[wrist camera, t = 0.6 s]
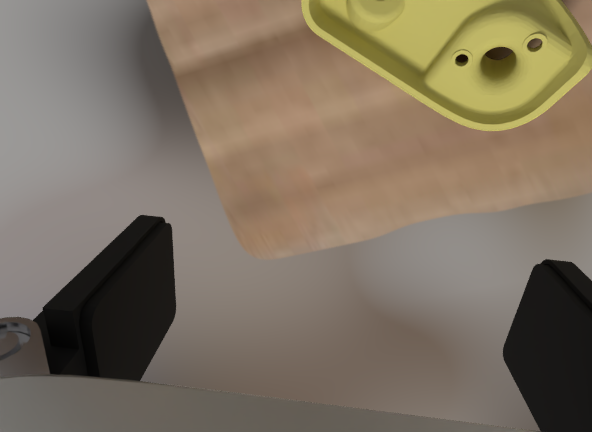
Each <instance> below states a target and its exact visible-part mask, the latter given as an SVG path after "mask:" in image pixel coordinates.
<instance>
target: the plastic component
mask: <svg viewBox="0 0 592 432" xmlns="http://www.w3.org/2000/svg"><path fill="white" fill-rule="evenodd" d="M301 1H302V12H303V16H304V18H305V20H306V23H307V24H308V26H309V27H310V29H311V30H312V31H313V32H314V33H316V34H317V35H318V36H320V37H321V38H323V39H324V40H326V41H328V42H329V43H331V44H332V45H334V46H335V47H337V48H338V49H340V50H342V51H343V52H345V53H346V54H348V55H349V56H351V57H352V58H354V59H355V60H357V61H359V62H360V63H362V64H363V65H365V66H366V67H368V68H369V69H371V70H372V71H374V72H376V73H377V74H379V75H380V76H382V77H383V78H385V79H386V80H388V81H390V82H391V83H393V84H394V85H396V86H397V87H399V88H400V89H402V90H403V91H405V92H407V93H408V94H410V95H411V96H413V97H414V98H416V99H417V100H419V101H421V102H422V103H424V104H425V105H427V106H428V107H430V108H432V109H433V110H435V111H437V112H438V113H440V114H442V115H443V116H445V117H447V118H449V119H451V120H453V121H455V122H457V123H459V124H461V125H464V126H467V127H470V128H473V129H478V130H484V131H500V130H506V129H511V128H515V127H518V126H520V125H523V124H526V123H527V122H529V121H531V120H533V119H535V118H536V117H538V116H539V115H541V114H542V113H544V112H545V111H546V110H547V109H549V108H550V107H551V106H552V105H553V104H554V103H556V102H557V101H558V100H559V99H560V98H561V97H562V96H563V95H565V94H566V93H567V92H568V91H569V90H570V89H571V88H572V87H573V86H575V85H576V84H577V83H578V82H579V81H580V80H581V79H582V78H584V77H585V76H586V75H587V74H588V72H589V71H590V70H591V68H592V45H591V44H590V42H589V40H588V38H587V36H586V35H585V33H584V31H583V30H582V28H581V26H580V25H579V24H578V22H577V21H576V19H575V18H574V16H573V15H572V14H571V12H570V11H569V10H568V8H567V7H566V6H565V4H564V3H563V2H562V1H561V0H301ZM534 38H538V39H541V40H542V43H541V44H540V45H539V46H538V47H536V48H530V47H528V46H527V44H528V42H529V41H530V40H532V39H534ZM495 47H507V48H509V49H511V50H513V52H512V53H511V54H510V55H509V56H508V57H506V58H504V59H501V60H493V59H490V58H488V57H486V55H485V53H486V52H487V51H489V50H490V49H492V48H495ZM460 54H465V55H466V56H468V60H467V61H466V62H463V63H460V62H458V61H457V60H456V57H457V56H458V55H460Z"/></svg>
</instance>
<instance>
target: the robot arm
mask: <svg viewBox="0 0 592 432" xmlns="http://www.w3.org/2000/svg"><path fill="white" fill-rule="evenodd" d="M172 241H173V240H172V227H171V225H170V224H169V223H165V220H164V218H163V217H155V216H146V215H140V216H138V217H137V218H136V219H135V220H134V221H133V222H132V223H131V224H130V225H129V226H128V227H127V228H126V229H125V230H124V231H123V232H122V233H121V234H120V235H119V236H118V237H116V238H115V239H114V240H113V241H112V242H111V243H110V244H109V245H108V246H107V247H106V248H105V249H104V250H103V251H102V252H101V253H100V254H99V255H97V256H96V257H95V258H94V260H92V261H91V262H90V263H89V264H88V265H87V266H86V267H85V268H84V269H83V270H82V271H81V272H80V273H79V274H77V276H75V277H74V278H73V279H72V280H71V281H70V282H69V283H68V284H67V285H66V286H65V287H64V288H63V289H62V290H61V291H60V292H59V293H58V294H56V296H54V297H53V298H52V299H51V300H50V301H49V302H48V303H47V304H46V305H45V306H44V307H43V311H42V312H41V313H40V314H39V315H38V316H37V317H36V318H35V319H34V320H33V321H32V320H30V319H27V318H21V317H6V318H1V319H0V432H538V431H531V430H523V429H516V428H508V427H501V426H493V425H485V424H477V423H469V422H462V421H454V420H446V419H438V418H430V417H423V416H415V415H407V414H399V413H391V412H384V411H375V410H368V409H359V408H352V407H344V406H336V405H328V404H320V403H312V402H305V401H297V400H289V399H281V398H273V397H266V396H265V397H264V396H257V395H249V394H241V393H233V392H224V391H217V390H208V389H200V388H192V387H184V386H175V385H167V384H159V383H151V382H143V381H140V380H141V378H142V376H143V374H144V372H145V371H146V369H147V367H148V365H149V364H150V362H151V360H152V358H153V356H154V355H155V352H156V351H157V349H158V347H159V345H160V344H161V342H162V340H163V338H164V336H165V334H166V333H167V331H168V329H169V327H170V326H171V324H172V322H173V320H174V317H175V313H176V300H175V299H176V297H175V279H174V259H173V242H172ZM503 357H504V361H505V363H506V365H507V367H508V369H509V370H510V372H511V375H512V376H513V378H514V380H515V382H516V384H517V386H518V388H519V390H520V392H521V394H522V396H523V398H524V400H525V401H526V403H527V405H528V407H529V409H530V411H531V413H532V415H533V417H534V419H535V421H536V423H537V425H538V427H539V428H540V431H541V432H592V281H591V280H590V279H589V278H588V277H587V276H586V275H585V274H584V273H583V272H582V271H581V270H580V269H579V268H578V267H577V266H576V265H575V264H573V263H572V262H566V261H557V260H547V259H546V260H544V261H543V262H542V263H541V264H537V265H535V266H534V268H533V270H532V272H531V275H530V278H529V280H528V283H527V286H526V288H525V291H524V294H523V296H522V299H521V302H520V304H519V307H518V309H517V313H516V315H515V318H514V320H513V323H512V326H511V328H510V331H509V334H508V336H507V339H506V342H505V344H504V348H503Z"/></svg>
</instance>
